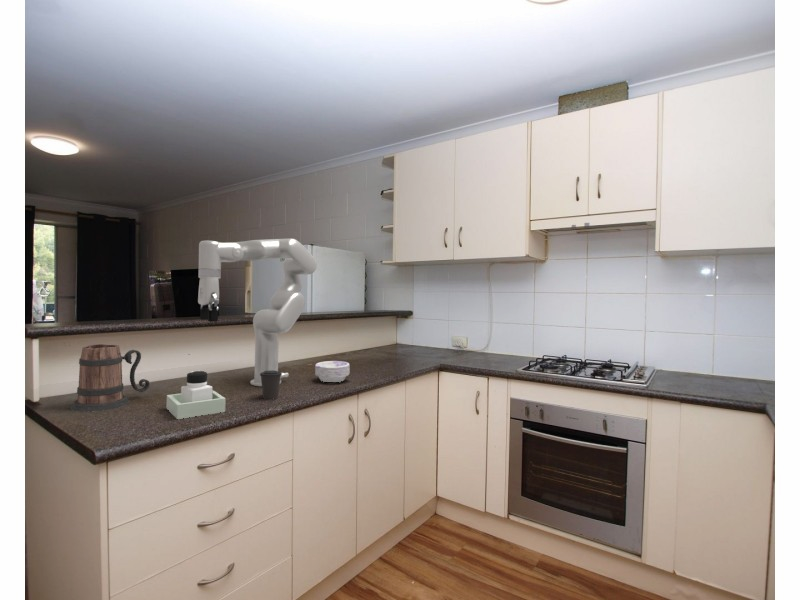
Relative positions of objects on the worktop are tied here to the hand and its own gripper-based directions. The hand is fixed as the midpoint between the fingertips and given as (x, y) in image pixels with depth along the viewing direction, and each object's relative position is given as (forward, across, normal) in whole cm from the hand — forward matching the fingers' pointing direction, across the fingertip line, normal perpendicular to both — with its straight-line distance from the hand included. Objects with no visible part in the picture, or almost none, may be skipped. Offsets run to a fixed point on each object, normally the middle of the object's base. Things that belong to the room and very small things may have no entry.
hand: (208, 320), depth 159 cm
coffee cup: (+28, +15, +18) cm, 37 cm away
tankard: (+29, -8, -29) cm, 42 cm away
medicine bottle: (+28, +16, -8) cm, 33 cm away
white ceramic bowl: (+29, +3, +52) cm, 59 cm away
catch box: (+28, +16, -8) cm, 34 cm away
